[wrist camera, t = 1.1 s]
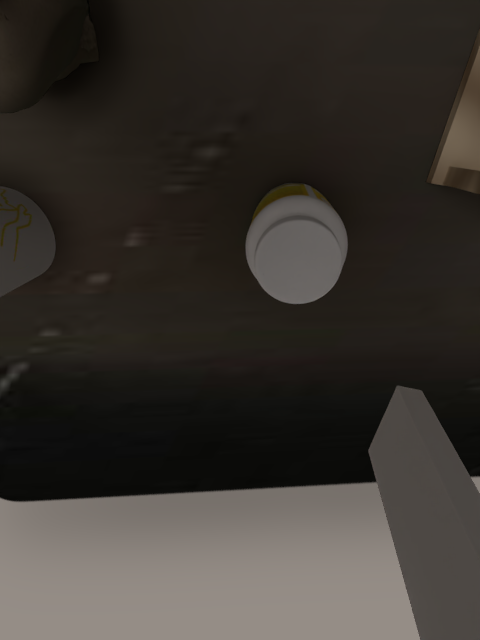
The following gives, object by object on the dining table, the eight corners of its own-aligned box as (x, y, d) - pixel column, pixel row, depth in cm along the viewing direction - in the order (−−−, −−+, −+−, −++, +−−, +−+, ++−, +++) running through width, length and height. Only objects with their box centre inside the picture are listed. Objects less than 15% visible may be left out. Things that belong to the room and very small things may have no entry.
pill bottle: (244, 247, 31) (225, 298, 21) (267, 171, 28) (258, 187, 18) (315, 269, 31) (329, 330, 21) (344, 196, 28) (378, 225, 18)
